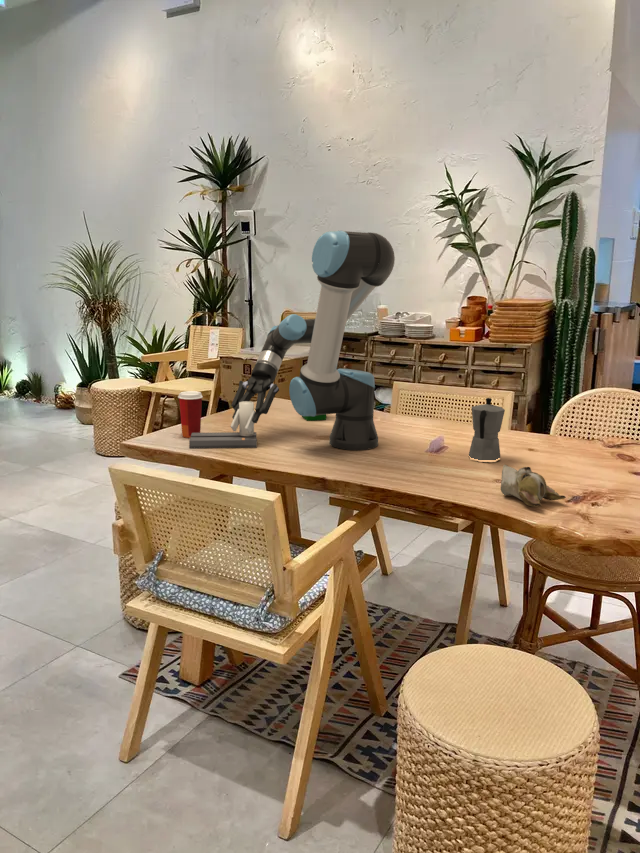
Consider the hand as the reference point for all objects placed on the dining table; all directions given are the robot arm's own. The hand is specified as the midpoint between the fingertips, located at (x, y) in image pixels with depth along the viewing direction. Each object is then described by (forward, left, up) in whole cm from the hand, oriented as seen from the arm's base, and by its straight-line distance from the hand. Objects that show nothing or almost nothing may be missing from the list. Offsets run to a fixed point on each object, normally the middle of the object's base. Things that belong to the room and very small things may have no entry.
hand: (240, 429), depth 204 cm
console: (+5, -3, -5) cm, 8 cm away
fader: (-2, -3, -5) cm, 6 cm away
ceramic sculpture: (-68, +53, -6) cm, 86 cm away
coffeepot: (-70, +18, -5) cm, 72 cm away
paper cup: (+16, -14, -5) cm, 22 cm away
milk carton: (-26, -38, -5) cm, 46 cm away
